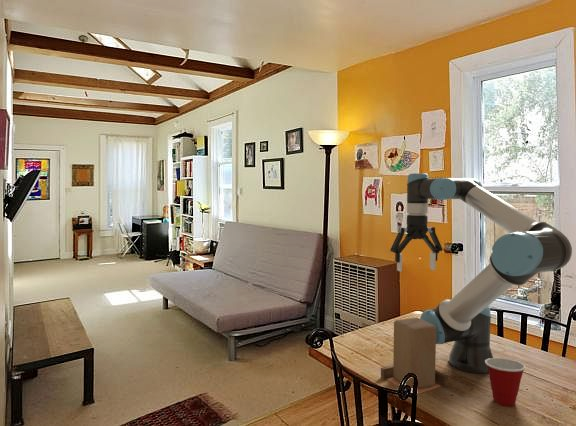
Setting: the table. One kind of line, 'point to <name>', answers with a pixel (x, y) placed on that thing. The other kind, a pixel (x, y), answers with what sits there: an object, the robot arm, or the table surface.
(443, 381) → the arena
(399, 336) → the block
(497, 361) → the plastic cup
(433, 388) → the tile
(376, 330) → the table surface
